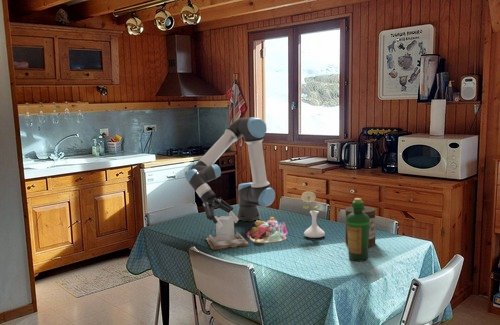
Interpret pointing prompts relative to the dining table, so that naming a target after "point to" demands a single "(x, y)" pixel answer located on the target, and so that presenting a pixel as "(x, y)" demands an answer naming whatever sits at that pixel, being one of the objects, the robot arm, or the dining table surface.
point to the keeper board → (227, 242)
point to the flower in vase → (313, 229)
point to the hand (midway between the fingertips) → (229, 224)
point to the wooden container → (371, 215)
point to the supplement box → (225, 229)
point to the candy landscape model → (267, 231)
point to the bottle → (358, 232)
